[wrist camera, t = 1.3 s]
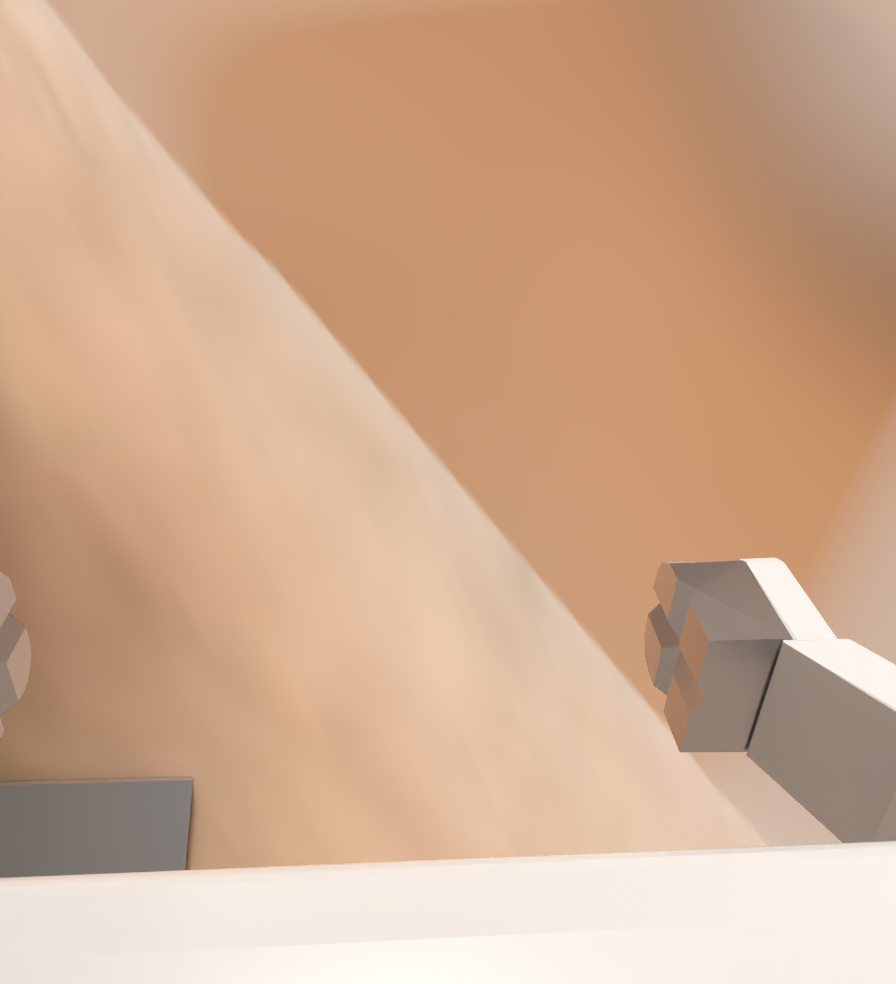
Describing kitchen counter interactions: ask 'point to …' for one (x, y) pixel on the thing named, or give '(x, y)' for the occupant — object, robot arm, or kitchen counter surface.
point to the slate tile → (94, 826)
